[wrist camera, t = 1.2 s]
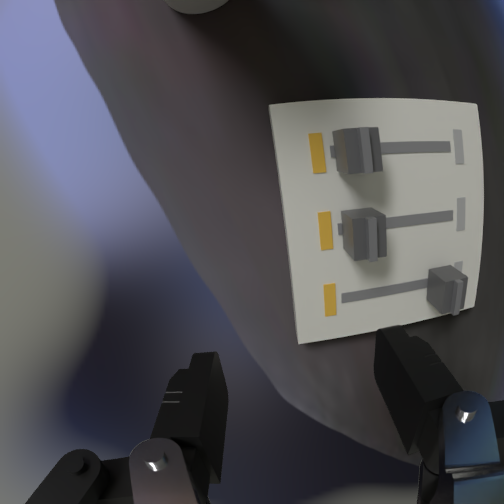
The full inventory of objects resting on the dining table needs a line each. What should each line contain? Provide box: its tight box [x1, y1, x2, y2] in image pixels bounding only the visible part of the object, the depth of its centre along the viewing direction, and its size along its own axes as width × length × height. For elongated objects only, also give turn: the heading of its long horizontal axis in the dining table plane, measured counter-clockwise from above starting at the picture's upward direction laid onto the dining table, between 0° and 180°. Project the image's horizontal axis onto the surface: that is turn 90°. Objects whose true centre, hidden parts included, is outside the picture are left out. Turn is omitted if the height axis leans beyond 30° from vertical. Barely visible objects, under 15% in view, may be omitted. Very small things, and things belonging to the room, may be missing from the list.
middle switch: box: [341, 207, 387, 262], centre depth 22 cm, size 2×3×4 cm
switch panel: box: [268, 98, 484, 344], centre depth 25 cm, size 19×20×2 cm
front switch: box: [332, 127, 383, 174], centre depth 20 cm, size 2×3×4 cm
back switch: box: [426, 265, 468, 316], centre depth 23 cm, size 2×3×4 cm
